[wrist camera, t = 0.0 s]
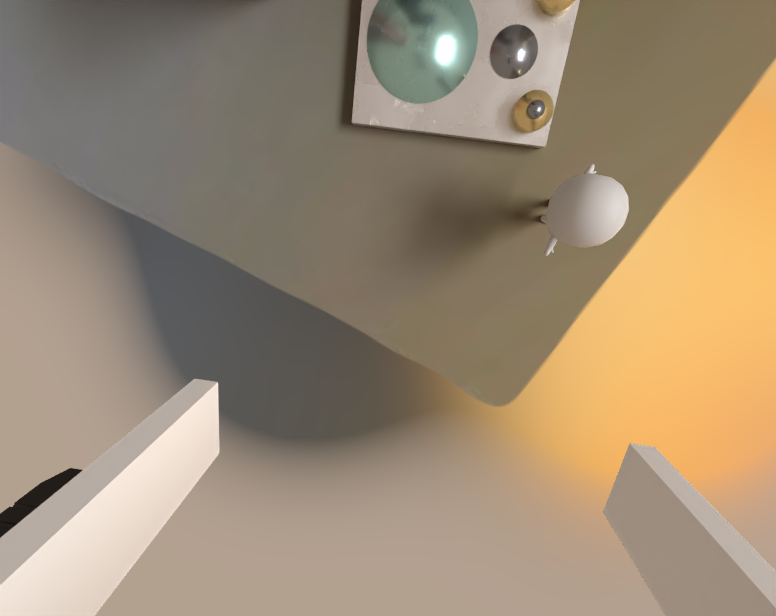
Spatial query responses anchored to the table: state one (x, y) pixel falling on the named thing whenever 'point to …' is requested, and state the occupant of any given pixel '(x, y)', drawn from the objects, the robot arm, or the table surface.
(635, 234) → the table surface
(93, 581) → the robot arm
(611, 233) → the figurine
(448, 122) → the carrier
